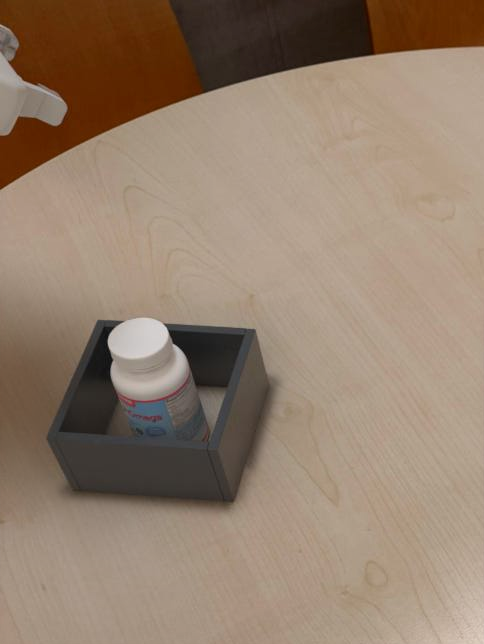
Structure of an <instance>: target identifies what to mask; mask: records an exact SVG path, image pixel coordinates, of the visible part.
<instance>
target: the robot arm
mask: <svg viewBox="0 0 484 644" xmlns="http://www.w3.org/2000/svg"><path fill="white" fill-rule="evenodd" d="M19 47H20V43H19V40H18V39H17V37H16V36H15V34H14V33H13V31H12V30H11V29H10V28H8V27H6V26H4V25H2V24H1V23H0V136H8V135H9V134H10V133H11V132H12V130H13V128H14V126H15V124H16V122H17V121H18V118H19V117H20V118H21V117H22V118H33V119H37V120H40V121H42V122H43V123H46V124H48V125H50V126H53V127H58V126H59V125H61V124H62V122H63V120H64V117H65V115H66V114H67V111H68V105H67V103H66V102H65V101H64V99H63V98H62V96H61V95H60V94H59V93H58V92H57V91H55V90H53V89H50V88H48V87H47V86H45V85H43V84H40V83H39V82H37V84H36V85H35V84H33V83H30V82H28V81H24V80H23V78H22V77H21V76H20V75H18V74H17V72H16V71H15V69H14V68H13V67H12V65H11V64H10V63H9V62H11V61H12V60H13V59H14V58H15V56H16V52H17V51H18V49H19Z"/></svg>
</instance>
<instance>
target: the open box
mask: <svg viewBox="0 0 484 644" xmlns="http://www.w3.org/2000/svg"><path fill="white" fill-rule="evenodd" d="M125 321H126V320H116V319H115V320H114V319H97V320H96V323H95V325H94V327H93V328H92V331H91V334H90V336H89V338H88V341H87V343H86V346H85V347H84V350H83V352H82V355H81V357H80V359H79V362H78V363H77V365H76V368H75V371H74V372H73V375H72V377H71V379H70V382H69V384H68V386H67V388H66V391H65V393H64V395H63V397H62V400H61V402H60V405H59V407H58V409H57V411H56V414H55V416H54V418H53V420H52V423H51V425H50V427H49V429H48V432H47V434H46V436H45V440H46V442H47V444H48V445H49V448H50V449H51V451H52V454H53V455H54V457H55V459H56V461H57V464H58V465H59V468H60V469H61V471H62V473H63V474H64V477H65V479H66V480H67V482H68V485H69V486H70V488H71V490H72V491H73V492H82V493H83V492H85V493H96V494H98V493H99V494H111V495H125V496H126V495H127V496H140V497H155V498H167V499H168V498H169V499H182V500H196V501H208V502H209V501H210V502H226V503H234V502H235V501H236V498H237V494H238V491H239V487H240V484H241V481H242V477H243V474H244V471H245V468H246V465H247V461H248V457H249V454H250V451H251V447H252V444H253V441H254V436H255V433H256V430H257V426H258V423H259V421H260V417H261V413H262V410H263V407H264V403H265V400H266V396H267V393H268V390H269V388H270V387H269V386H270V383H269V378H268V374H267V371H266V370H267V369H266V366H265V362H264V358H263V354H262V351H261V346H260V342H259V338H258V333H257V329H255V328H247V327H232V326H231V327H230V326H216V325H200V324H199V325H198V324H181V323H167V322H166V323H164V322H161V323H162V324H164V325H165V327H166V328H167V330H168V332H169V335H170V337H171V339H172V343H173V344H174V345H176V346H177V347H178V348H179V349H181V351H182V352H183V353H184V355H185V356H186V358H187V361H188V364H189V367H190V370H191V373H192V376H193V379H194V383H195V386H196V387H197V386H198V387H211V388H226V390H225V393H224V396H223V400H222V403H221V406H220V409H219V413H218V415H217V419H216V422H215V425H214V428H213V431H212V434H211V436H210V439H209V441H206V442H204V441H190V440H175V439H160V438H145V437H134V436H130V435H129V436H127V435H114V434H106V432H107V429H108V427H109V424H110V422H111V420H112V417H113V415H114V411H115V409H116V406H117V405H118V402H119V398H118V395H117V393H116V390H115V388H114V385H113V382H112V379H111V365H112V362H113V359H112V356H111V352H110V350H109V347H108V337H109V335H110V333H111V332H112V330H113V329H114V328H115V327H116V326H118V325H119V324H121V323H123V322H125Z"/></svg>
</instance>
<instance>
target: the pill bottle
mask: <svg viewBox="0 0 484 644" xmlns="http://www.w3.org/2000/svg"><path fill="white" fill-rule="evenodd" d="M124 321H125V322H123V323H121V324H119V325H118V326H116V327H115V328H114V329H113V330H112V332H111V333H110V335H109V337H108V347H109V350H110V352H111V356H112V359H113V362H112V365H111V379H112V382H113V385H114V388H115V390H116V393H117V395H118V398H119V399H118V401H119V402H120V405H121V407H122V410H123V412H124V416H125V417H126V420H127V422H128V425H129V428H130V430H131V433H132V435H133V437H145V438H160V439H175V440H190V441H204V442H208V439H209V436H210V429H209V424H208V420H207V417H206V414H205V411H204V408H203V404H202V402H201V398H200V395H199V392H198V388H197V386H196V385H195V383H194V379H193V376H192V373H191V370H190V367H189V364H188V361H187V358H186V356H185V355H184V353H183V352H182V351H181V349H179V348H178V347H177V346H176V345H174V344H173V343H172V339H171V337H170V335H169V332H168V330H167V328H166V327H165V325H164V324H162V323H163V322H161V321H160V320H158V319H154V318H151V317H136V318H131V319H127V320H124Z"/></svg>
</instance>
